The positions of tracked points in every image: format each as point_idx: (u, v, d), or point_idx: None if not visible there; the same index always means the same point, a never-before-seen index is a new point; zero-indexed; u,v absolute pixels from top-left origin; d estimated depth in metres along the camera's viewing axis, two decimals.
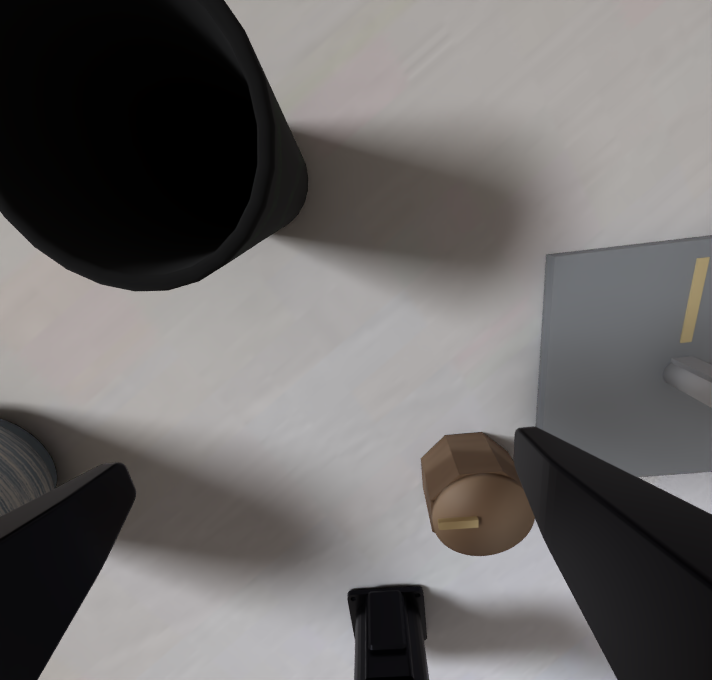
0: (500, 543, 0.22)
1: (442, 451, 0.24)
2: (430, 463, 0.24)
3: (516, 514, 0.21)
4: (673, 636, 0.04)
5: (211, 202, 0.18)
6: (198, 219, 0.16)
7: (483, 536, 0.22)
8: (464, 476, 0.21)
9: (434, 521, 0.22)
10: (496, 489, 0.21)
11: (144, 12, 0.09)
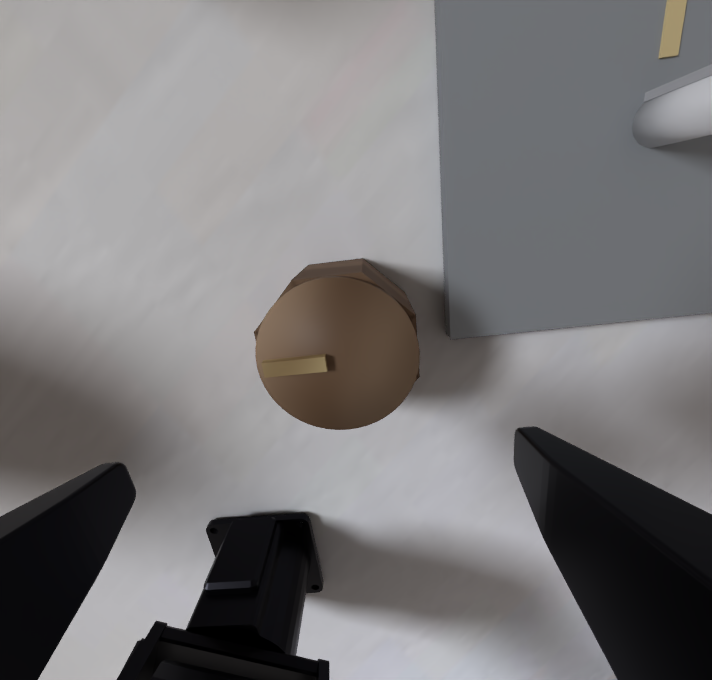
0: (371, 406, 0.14)
1: None
2: None
3: (389, 349, 0.13)
4: (673, 636, 0.04)
5: None
6: None
7: (342, 393, 0.14)
8: (299, 282, 0.13)
9: (259, 365, 0.13)
10: (349, 299, 0.12)
11: None
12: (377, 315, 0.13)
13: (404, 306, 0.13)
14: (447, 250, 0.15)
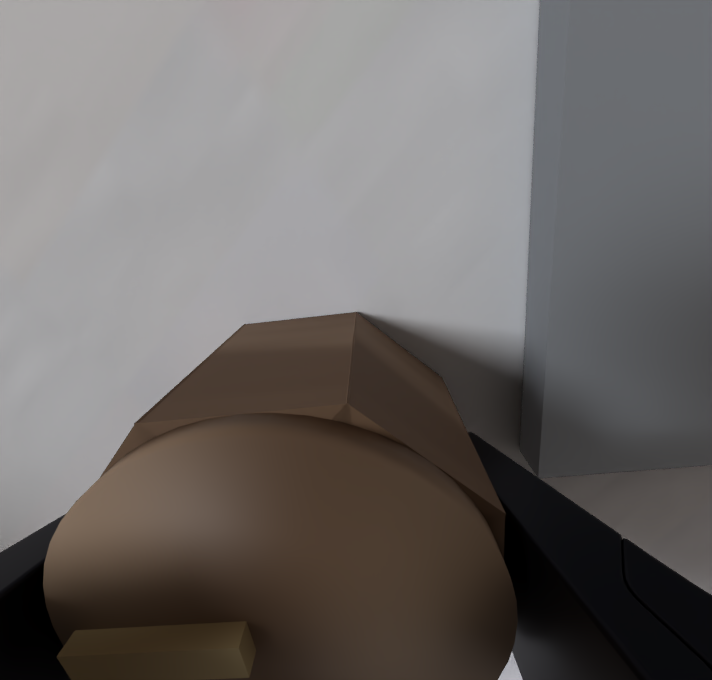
0: None
1: None
2: None
3: (429, 616, 0.04)
4: (554, 642, 0.04)
5: None
6: None
7: None
8: (156, 431, 0.04)
9: (66, 640, 0.05)
10: (307, 498, 0.04)
11: None
12: (396, 538, 0.04)
13: (473, 490, 0.04)
14: (547, 302, 0.07)
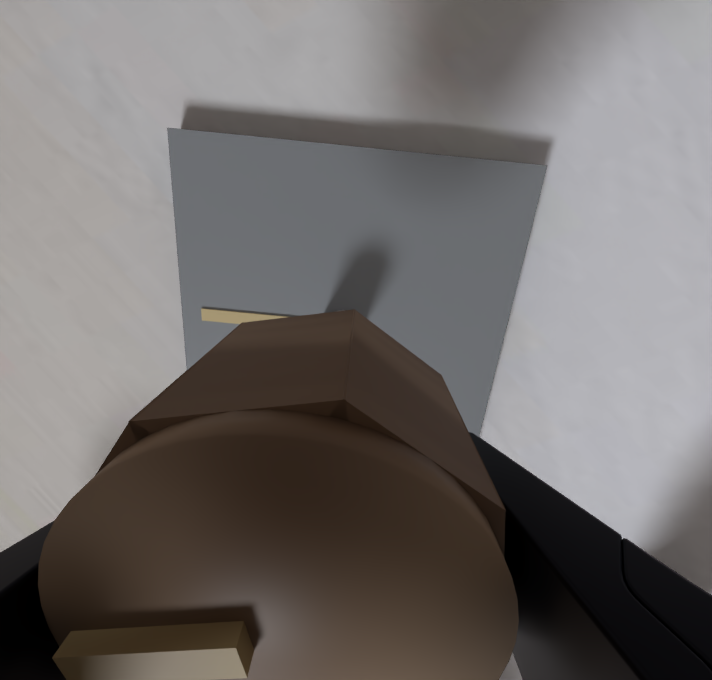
0: None
1: None
2: None
3: (428, 615, 0.04)
4: (554, 642, 0.04)
5: None
6: None
7: None
8: (150, 429, 0.04)
9: (62, 641, 0.05)
10: (304, 495, 0.04)
11: None
12: (395, 535, 0.04)
13: (472, 486, 0.04)
14: None
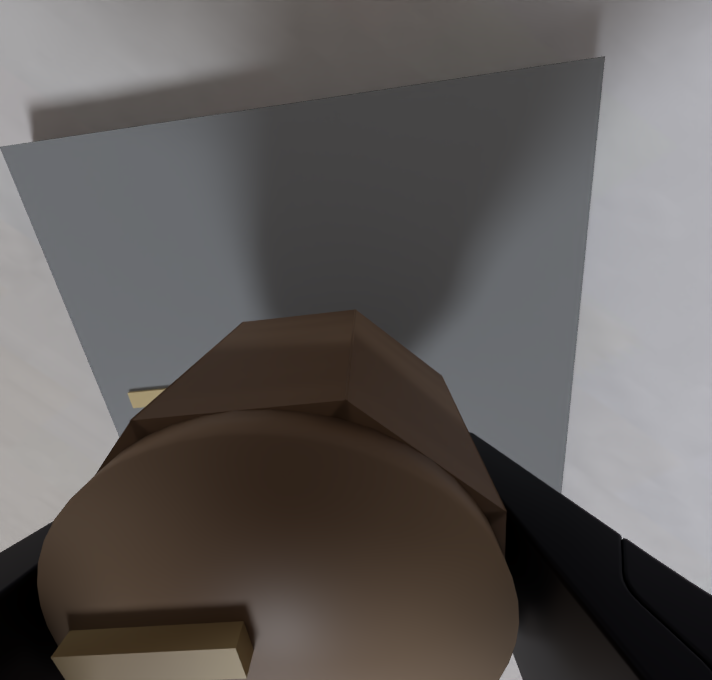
0: None
1: None
2: None
3: (429, 616, 0.04)
4: (554, 641, 0.04)
5: None
6: None
7: None
8: (151, 428, 0.04)
9: (61, 641, 0.05)
10: (305, 496, 0.04)
11: None
12: (396, 536, 0.04)
13: (474, 488, 0.04)
14: None
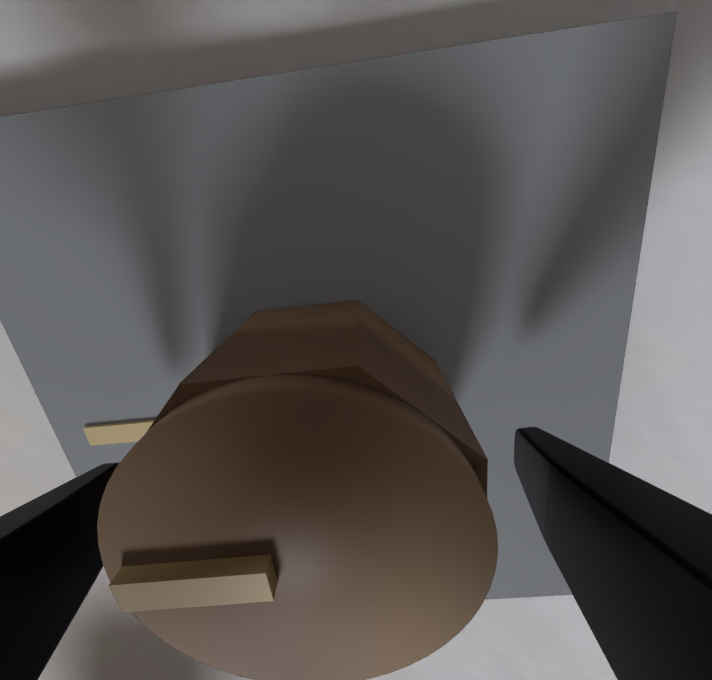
0: (380, 647, 0.06)
1: None
2: None
3: (424, 546, 0.05)
4: (673, 636, 0.04)
5: None
6: None
7: (313, 625, 0.06)
8: (197, 390, 0.05)
9: (113, 576, 0.06)
10: (325, 442, 0.05)
11: None
12: (398, 476, 0.05)
13: (461, 440, 0.05)
14: None
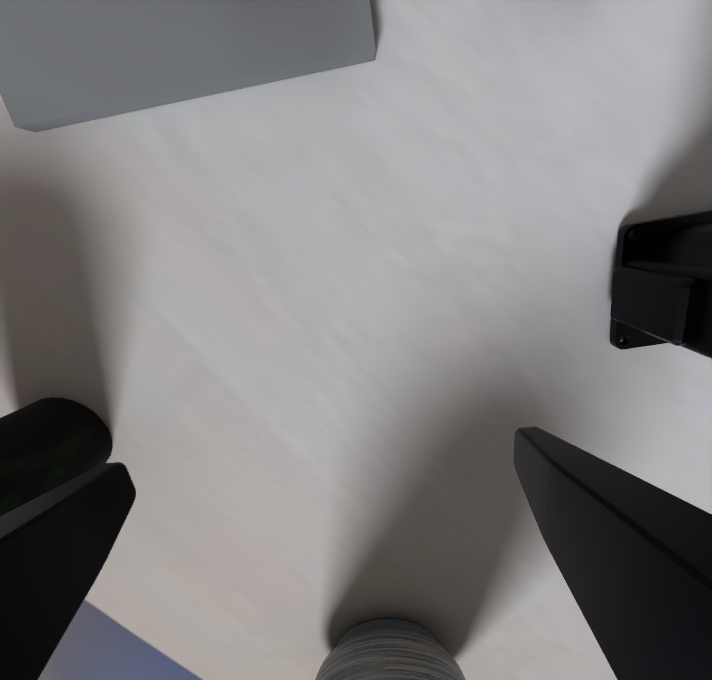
0: None
1: None
2: None
3: None
4: (673, 636, 0.04)
5: None
6: None
7: None
8: None
9: None
10: None
11: None
12: None
13: None
14: (278, 71, 0.15)
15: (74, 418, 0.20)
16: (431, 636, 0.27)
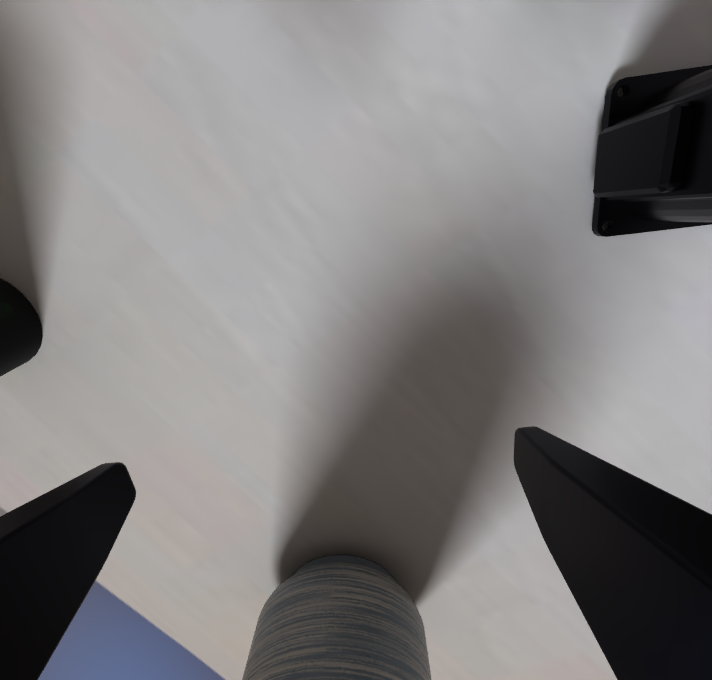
0: None
1: None
2: None
3: None
4: (673, 636, 0.04)
5: None
6: None
7: None
8: None
9: None
10: None
11: None
12: None
13: None
14: None
15: None
16: (389, 576, 0.25)
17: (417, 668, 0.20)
